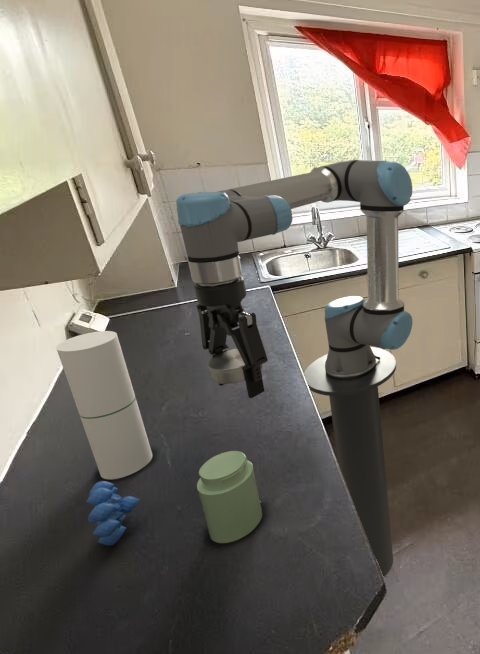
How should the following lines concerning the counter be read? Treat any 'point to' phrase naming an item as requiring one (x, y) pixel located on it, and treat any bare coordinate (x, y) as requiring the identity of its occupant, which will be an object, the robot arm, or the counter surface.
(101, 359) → the container
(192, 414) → the counter surface
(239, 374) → the flask lid
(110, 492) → the grapes
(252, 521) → the flask
